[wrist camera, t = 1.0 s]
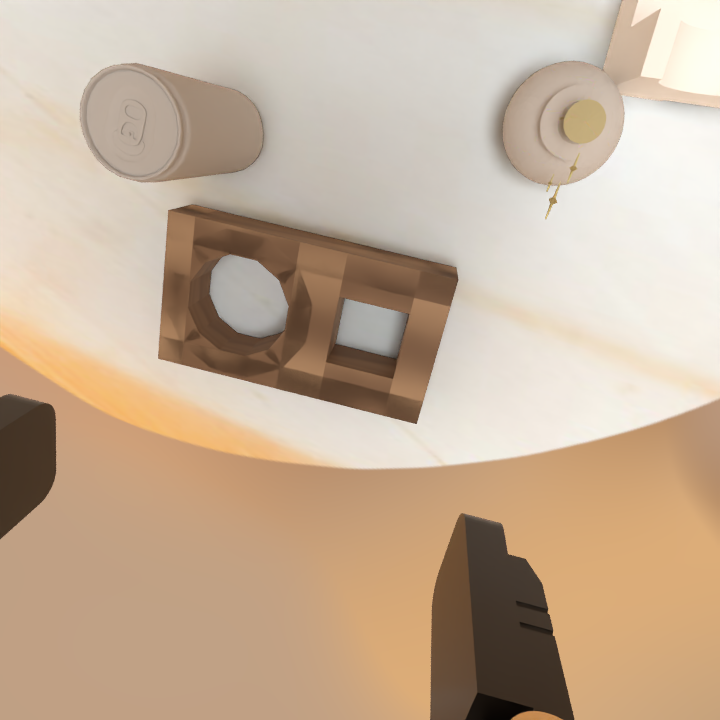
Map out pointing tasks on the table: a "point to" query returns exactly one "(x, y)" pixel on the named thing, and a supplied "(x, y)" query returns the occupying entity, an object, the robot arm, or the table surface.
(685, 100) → the bracket
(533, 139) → the round potion bottle
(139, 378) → the table surface
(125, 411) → the table surface
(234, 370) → the walnut bore block
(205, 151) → the beverage can
